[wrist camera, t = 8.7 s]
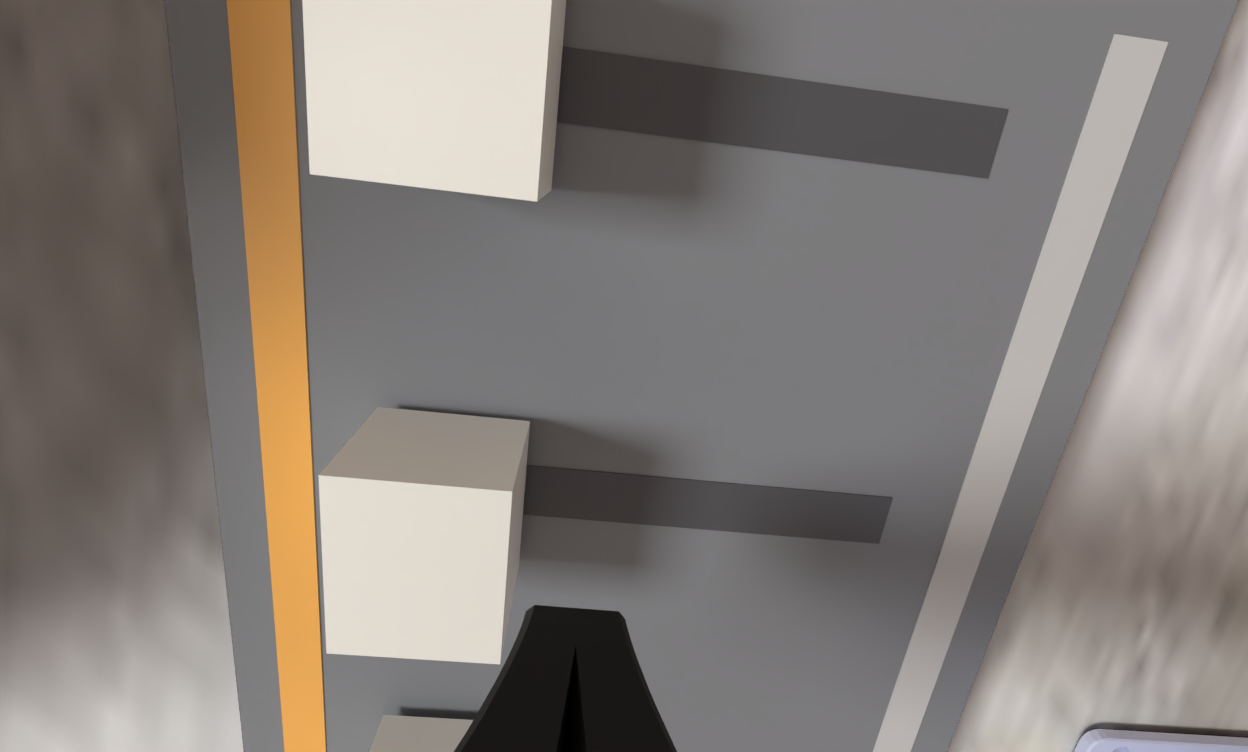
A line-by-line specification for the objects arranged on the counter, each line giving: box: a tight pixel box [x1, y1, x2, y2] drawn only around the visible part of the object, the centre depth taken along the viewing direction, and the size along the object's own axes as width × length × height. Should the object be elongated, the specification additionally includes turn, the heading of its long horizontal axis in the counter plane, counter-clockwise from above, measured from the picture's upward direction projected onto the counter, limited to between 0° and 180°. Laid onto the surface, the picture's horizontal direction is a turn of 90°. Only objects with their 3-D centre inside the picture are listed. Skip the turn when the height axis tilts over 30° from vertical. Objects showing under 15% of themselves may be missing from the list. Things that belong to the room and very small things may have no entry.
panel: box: [164, 0, 1239, 752], centre depth 14 cm, size 18×24×2 cm
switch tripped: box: [318, 407, 530, 664], centre depth 12 cm, size 3×4×3 cm
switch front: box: [302, 0, 566, 202], centre depth 9 cm, size 3×4×3 cm
